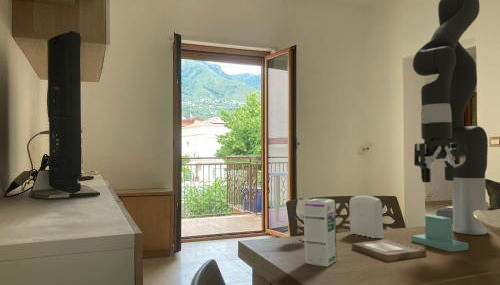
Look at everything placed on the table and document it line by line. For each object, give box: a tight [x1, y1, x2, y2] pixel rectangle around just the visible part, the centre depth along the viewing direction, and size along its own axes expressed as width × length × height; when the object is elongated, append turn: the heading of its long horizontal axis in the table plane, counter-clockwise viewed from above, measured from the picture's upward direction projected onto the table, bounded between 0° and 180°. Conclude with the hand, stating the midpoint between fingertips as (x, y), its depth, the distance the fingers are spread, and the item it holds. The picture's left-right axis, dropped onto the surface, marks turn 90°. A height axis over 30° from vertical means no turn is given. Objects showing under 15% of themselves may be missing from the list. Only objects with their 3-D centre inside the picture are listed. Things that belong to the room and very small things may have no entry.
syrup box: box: [303, 198, 338, 267], centre depth 91 cm, size 6×6×14 cm
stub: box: [411, 214, 469, 253], centre depth 106 cm, size 6×13×8 cm, turn 23°
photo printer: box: [348, 194, 384, 239], centre depth 119 cm, size 10×4×12 cm, turn 39°
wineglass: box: [296, 197, 314, 240], centre depth 114 cm, size 6×6×12 cm
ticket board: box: [351, 238, 427, 262], centre depth 99 cm, size 12×13×2 cm
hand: (438, 181), depth 106 cm, fingers open, 8 cm apart
